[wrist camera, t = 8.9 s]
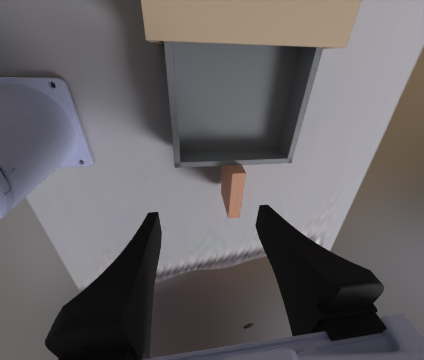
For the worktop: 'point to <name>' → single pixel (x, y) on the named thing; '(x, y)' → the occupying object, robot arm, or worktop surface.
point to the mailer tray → (237, 106)
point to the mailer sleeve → (251, 22)
